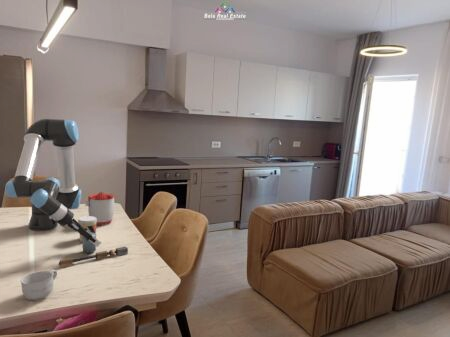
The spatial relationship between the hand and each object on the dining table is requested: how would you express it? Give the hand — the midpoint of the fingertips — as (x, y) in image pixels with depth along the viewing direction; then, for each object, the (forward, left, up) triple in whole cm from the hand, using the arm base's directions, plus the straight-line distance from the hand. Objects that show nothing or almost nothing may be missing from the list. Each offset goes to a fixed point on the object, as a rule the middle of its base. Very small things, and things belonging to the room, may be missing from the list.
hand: (96, 242), depth 174 cm
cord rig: (+10, -5, -5) cm, 12 cm away
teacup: (+30, -31, -5) cm, 43 cm away
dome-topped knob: (0, -4, -3) cm, 5 cm away
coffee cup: (-17, +1, -5) cm, 18 cm away
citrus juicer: (-41, +16, -5) cm, 44 cm away
